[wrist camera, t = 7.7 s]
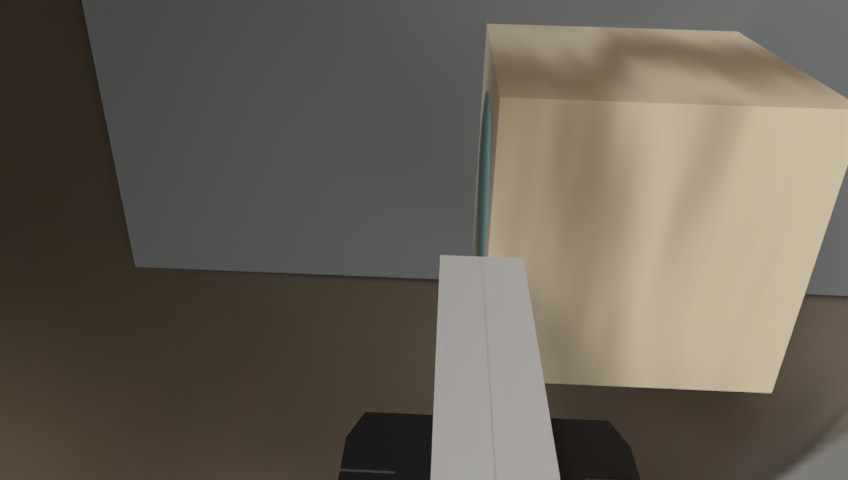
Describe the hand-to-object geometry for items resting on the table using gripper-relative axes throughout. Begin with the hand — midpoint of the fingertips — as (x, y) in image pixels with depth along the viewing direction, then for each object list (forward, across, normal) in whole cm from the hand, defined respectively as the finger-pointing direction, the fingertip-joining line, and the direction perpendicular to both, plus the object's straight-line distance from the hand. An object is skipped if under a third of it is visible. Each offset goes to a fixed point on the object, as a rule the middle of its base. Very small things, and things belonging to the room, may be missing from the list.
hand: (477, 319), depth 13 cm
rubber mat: (+10, +2, 0) cm, 10 cm away
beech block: (+6, 0, 0) cm, 6 cm away
